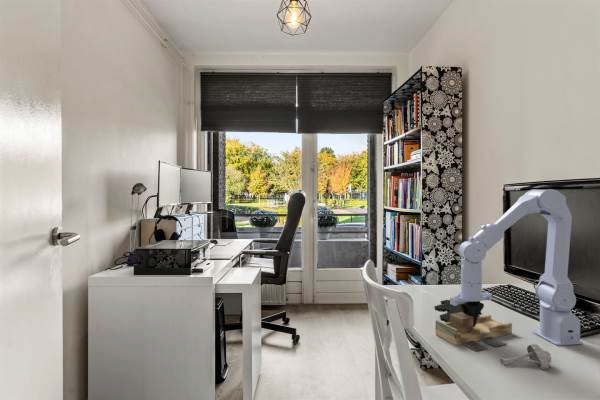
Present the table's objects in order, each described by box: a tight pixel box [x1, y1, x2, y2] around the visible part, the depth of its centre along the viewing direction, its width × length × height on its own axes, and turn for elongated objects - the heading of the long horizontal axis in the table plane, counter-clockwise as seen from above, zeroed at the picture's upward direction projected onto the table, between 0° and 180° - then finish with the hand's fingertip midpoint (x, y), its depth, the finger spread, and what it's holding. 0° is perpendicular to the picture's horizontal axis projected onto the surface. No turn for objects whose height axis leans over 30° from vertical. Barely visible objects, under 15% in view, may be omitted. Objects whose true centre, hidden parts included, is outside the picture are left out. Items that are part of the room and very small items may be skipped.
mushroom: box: [499, 343, 552, 370], centre depth 88 cm, size 7×5×12 cm
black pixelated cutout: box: [434, 299, 482, 323], centre depth 122 cm, size 16×1×30 cm
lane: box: [435, 314, 513, 353], centre depth 104 cm, size 22×13×4 cm, turn 110°
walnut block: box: [450, 312, 473, 334], centre depth 105 cm, size 4×4×4 cm
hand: (471, 325), depth 106 cm, fingers closed
